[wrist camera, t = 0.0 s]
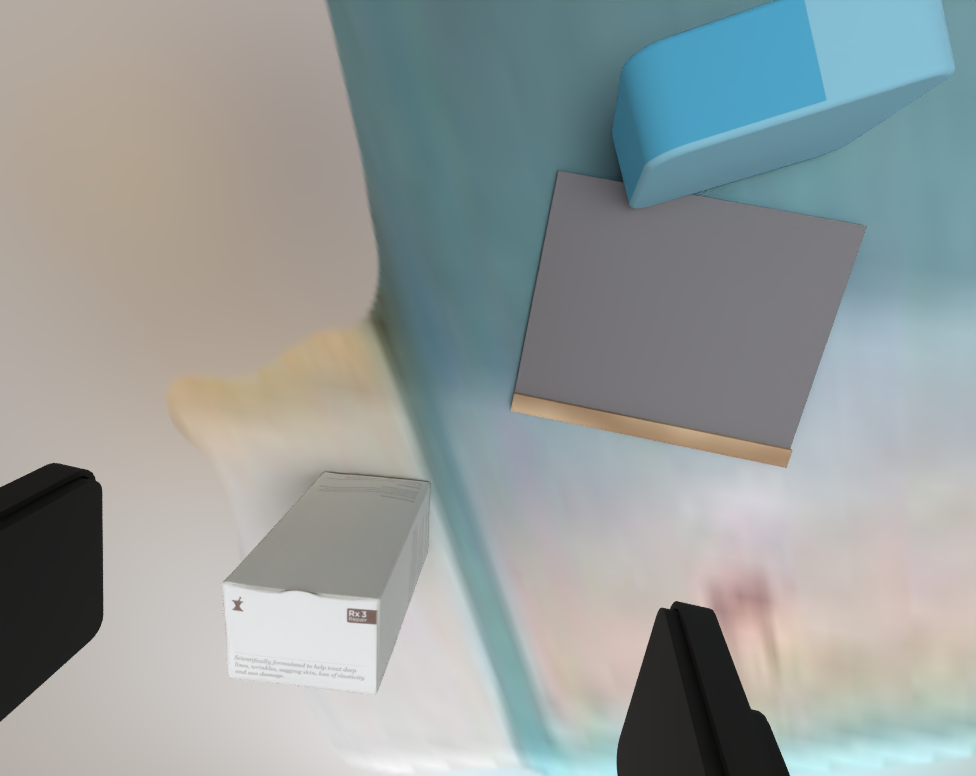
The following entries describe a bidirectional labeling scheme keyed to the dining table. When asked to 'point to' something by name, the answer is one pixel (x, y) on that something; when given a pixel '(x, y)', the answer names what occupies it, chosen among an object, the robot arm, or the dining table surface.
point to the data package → (770, 90)
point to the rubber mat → (684, 308)
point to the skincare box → (329, 585)
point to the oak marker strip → (651, 430)
